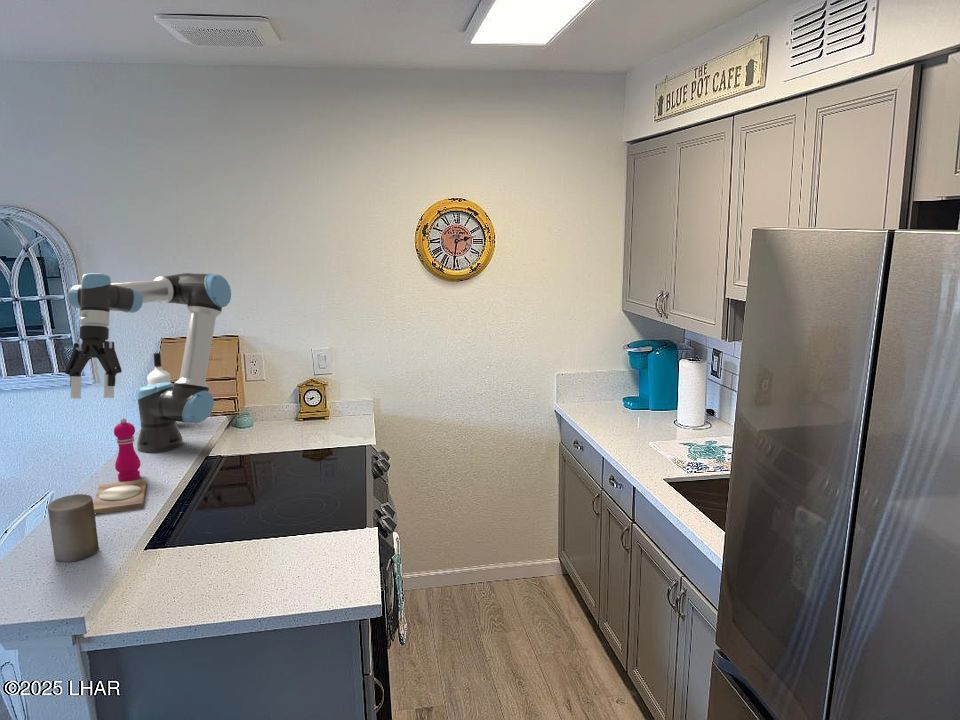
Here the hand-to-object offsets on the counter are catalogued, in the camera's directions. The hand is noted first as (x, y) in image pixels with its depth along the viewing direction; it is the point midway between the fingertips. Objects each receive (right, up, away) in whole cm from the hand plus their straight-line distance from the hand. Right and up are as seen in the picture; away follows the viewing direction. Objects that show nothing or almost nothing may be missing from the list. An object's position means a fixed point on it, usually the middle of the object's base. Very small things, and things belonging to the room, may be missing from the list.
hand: (91, 398), depth 200 cm
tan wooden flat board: (+7, -30, +3) cm, 31 cm away
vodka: (-13, -16, +74) cm, 77 cm away
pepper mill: (+1, -27, +19) cm, 33 cm away
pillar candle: (+13, -37, -30) cm, 49 cm away
